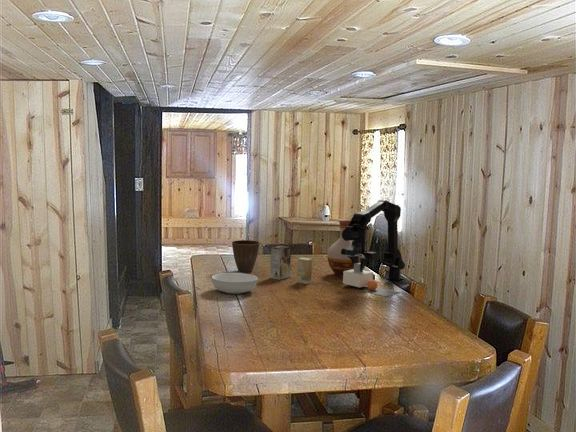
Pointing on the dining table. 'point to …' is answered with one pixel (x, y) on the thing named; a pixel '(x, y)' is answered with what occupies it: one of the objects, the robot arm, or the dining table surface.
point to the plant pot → (245, 254)
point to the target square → (382, 292)
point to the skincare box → (304, 270)
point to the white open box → (357, 276)
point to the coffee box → (280, 262)
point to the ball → (372, 284)
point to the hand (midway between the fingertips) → (358, 271)
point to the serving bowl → (234, 282)
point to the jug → (334, 253)
